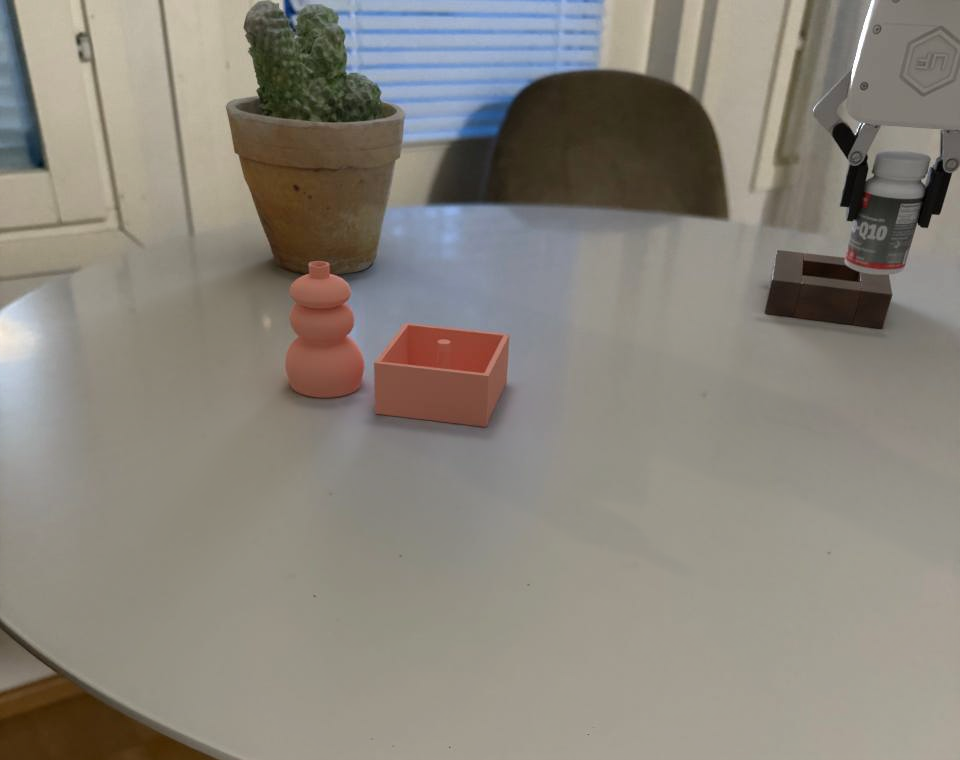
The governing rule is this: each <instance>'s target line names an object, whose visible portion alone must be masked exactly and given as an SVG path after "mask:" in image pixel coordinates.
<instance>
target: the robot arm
mask: <svg viewBox="0 0 960 760" xmlns="http://www.w3.org/2000/svg"><path fill="white" fill-rule="evenodd" d="M845 100H846V103H845V104H846V111H847V113H848V115H849V117H851V118H852V119H853V120H854V121H856V122H859V125H858V128H857V129H856V132H855V133H854V131H853V130H852V128H851V126H850V125H849V123H847V121H845V120H844V118H843V117H842V116H841V115H840V114H839V113H838V109H839V107H840V105H842V104H843V102H844V101H845ZM812 115H813V117H814V119H815V120H816V121H817V122H818V123H819V124H820V125H821V126H822V128H824V130H825V131H826V132H827V133H828V134H829V135H830V136H831V137H832V138H833V140H834V142H835V143H836V144H837V146H838V148H839V149H840V150H841V153H842V154H843V155H844V157H845V158H846V160H847V161H848V165H847V170H846V173H845V179H844V184H843V186H842V191H841V195H840V200H839V207H840V208H846V209H845V210H846V211H845V222H853V223H854V220H856V219H857V215H858V211H859V207H860V202H861V198H862V194H863V190H864V186H865V182H866V181H867V178H868V174H869V168H870V167H869V163H868V159H869V155H868V152H869V150H870V148H871V146H872V145H873V142H874V140H875V138H876V137H877V134H878V133H879V131H880V129H881V127H882V126H886V127H898V128H899V127H900V128H914V129H928V130H929V129H931V130H932V129H933V130H939V156H937V158H935V162H934V164H932V166H929V168H928V173H927V175H926V179H925V183H924V185H925V187H926V194H925V198H924V201H923V205H922V208H921V211H920V215H919V218H918V222H917V226H919V227H920V228H921V229H922V228H923V229H928V228H929V227H930V223H931V220H932V217H933V215H934V216H940V215H941V212H942V209H943V206H944V203H945V199H946V196H947V192H948V190H949V186H950V182H951V179H952V175H953V173H955V172H956V171H958V170H959V168H960V0H871V2H870V5H869V7H868V11H867V14H866V17H865V20H864V23H863V27H862V31H861V34H860V38H859V41H858V45H857V49H856V53H855V57H854V61H853V65H852V66H851V67H850V68H849V69H848V70H847V72H845V73H844V75H842V77H841V78H839V80H838V81H837V82H836V83H835V84H834V85H833V86H832V87H831V88H830V89H829V91H827V92H826V93H825V94H824V95H823V96H822V98H821V99H819V101H818V102H817V103H816V104H815V105H814V107H813V110H812Z"/></svg>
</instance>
